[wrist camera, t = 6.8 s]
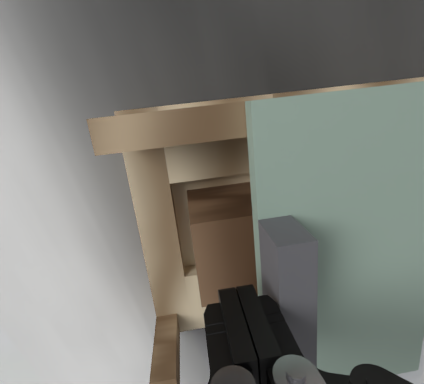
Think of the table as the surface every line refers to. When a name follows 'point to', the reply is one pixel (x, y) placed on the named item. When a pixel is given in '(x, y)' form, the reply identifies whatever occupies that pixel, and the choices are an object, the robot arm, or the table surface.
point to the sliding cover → (342, 221)
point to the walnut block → (222, 238)
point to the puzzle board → (180, 196)
